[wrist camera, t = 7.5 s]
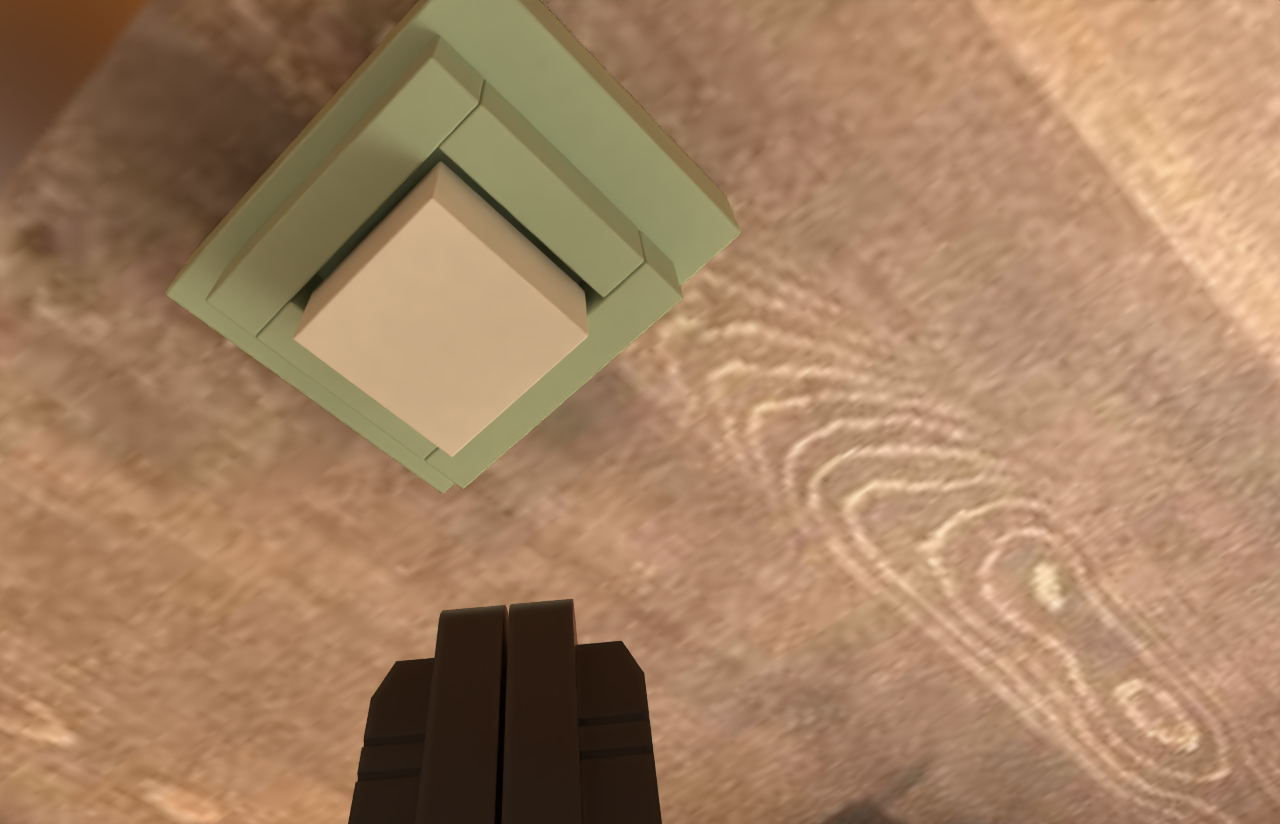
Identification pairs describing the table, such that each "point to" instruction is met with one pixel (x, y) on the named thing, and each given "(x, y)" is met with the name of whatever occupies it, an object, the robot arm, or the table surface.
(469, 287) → the ivory key
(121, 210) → the table surface
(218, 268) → the key block
